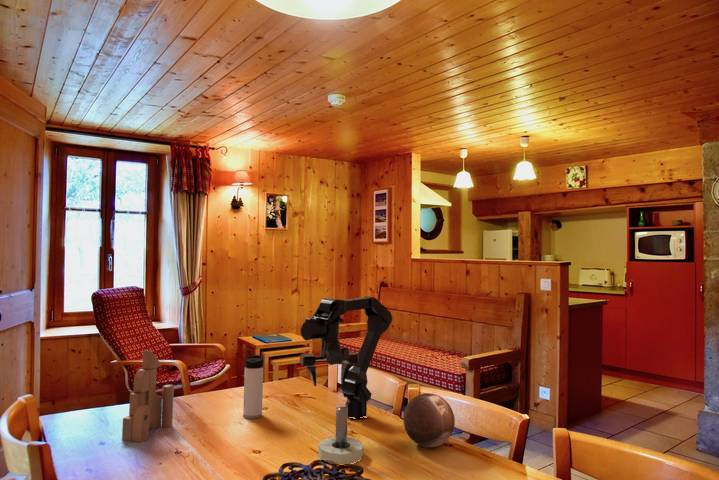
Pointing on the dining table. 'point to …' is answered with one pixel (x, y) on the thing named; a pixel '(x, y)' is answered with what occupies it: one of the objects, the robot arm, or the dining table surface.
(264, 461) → the dining table surface
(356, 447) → the grey ring
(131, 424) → the wooden toy
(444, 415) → the wooden sphere
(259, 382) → the travel mug
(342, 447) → the metal peg
